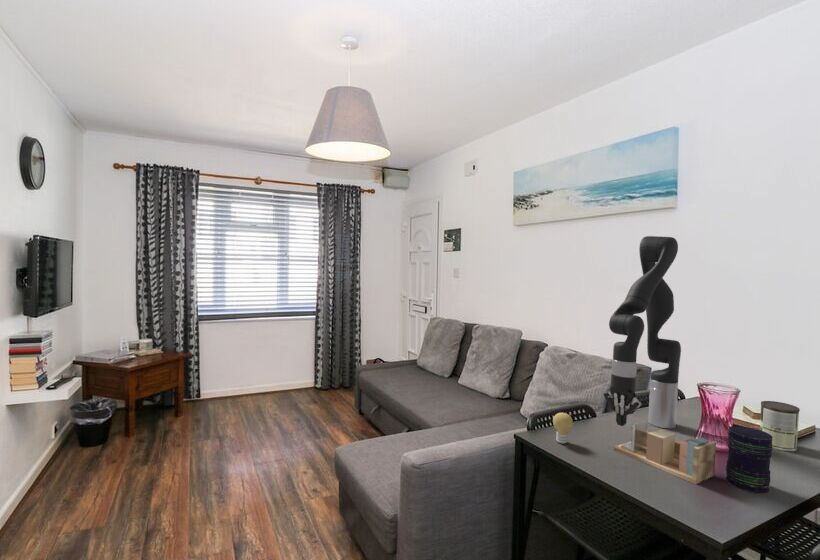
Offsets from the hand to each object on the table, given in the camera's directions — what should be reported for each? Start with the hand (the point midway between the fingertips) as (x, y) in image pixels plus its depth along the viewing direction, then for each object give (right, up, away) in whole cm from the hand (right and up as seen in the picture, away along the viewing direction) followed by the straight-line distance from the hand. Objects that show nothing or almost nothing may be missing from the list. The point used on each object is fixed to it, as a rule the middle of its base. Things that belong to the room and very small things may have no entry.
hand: (620, 424), depth 144 cm
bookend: (+3, -6, -3) cm, 8 cm away
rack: (+7, -8, -11) cm, 15 cm away
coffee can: (+58, -9, +6) cm, 59 cm away
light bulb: (-19, -7, +2) cm, 20 cm away
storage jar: (+24, -9, -23) cm, 35 cm away
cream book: (+7, -7, -11) cm, 15 cm away
